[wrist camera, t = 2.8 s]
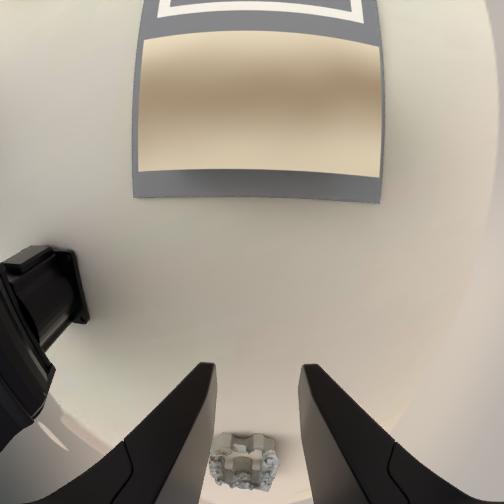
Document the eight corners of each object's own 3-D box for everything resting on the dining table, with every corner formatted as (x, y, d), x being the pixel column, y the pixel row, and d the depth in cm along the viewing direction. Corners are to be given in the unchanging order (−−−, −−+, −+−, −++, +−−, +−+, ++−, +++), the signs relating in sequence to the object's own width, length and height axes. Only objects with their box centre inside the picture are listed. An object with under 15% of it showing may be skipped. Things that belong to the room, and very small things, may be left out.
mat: (377, 202, 18) (379, 203, 17) (135, 196, 18) (133, 197, 17) (362, -53, 10) (364, -55, 10) (160, -58, 10) (158, -61, 10)
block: (339, 168, 17) (379, 177, 11) (175, 164, 17) (138, 171, 11) (341, 77, 15) (378, 47, 9) (178, 72, 15) (144, 40, 9)
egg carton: (211, 427, 26) (206, 457, 22) (281, 431, 26) (284, 461, 22) (212, 468, 29) (209, 492, 25) (269, 471, 29) (269, 496, 25)
